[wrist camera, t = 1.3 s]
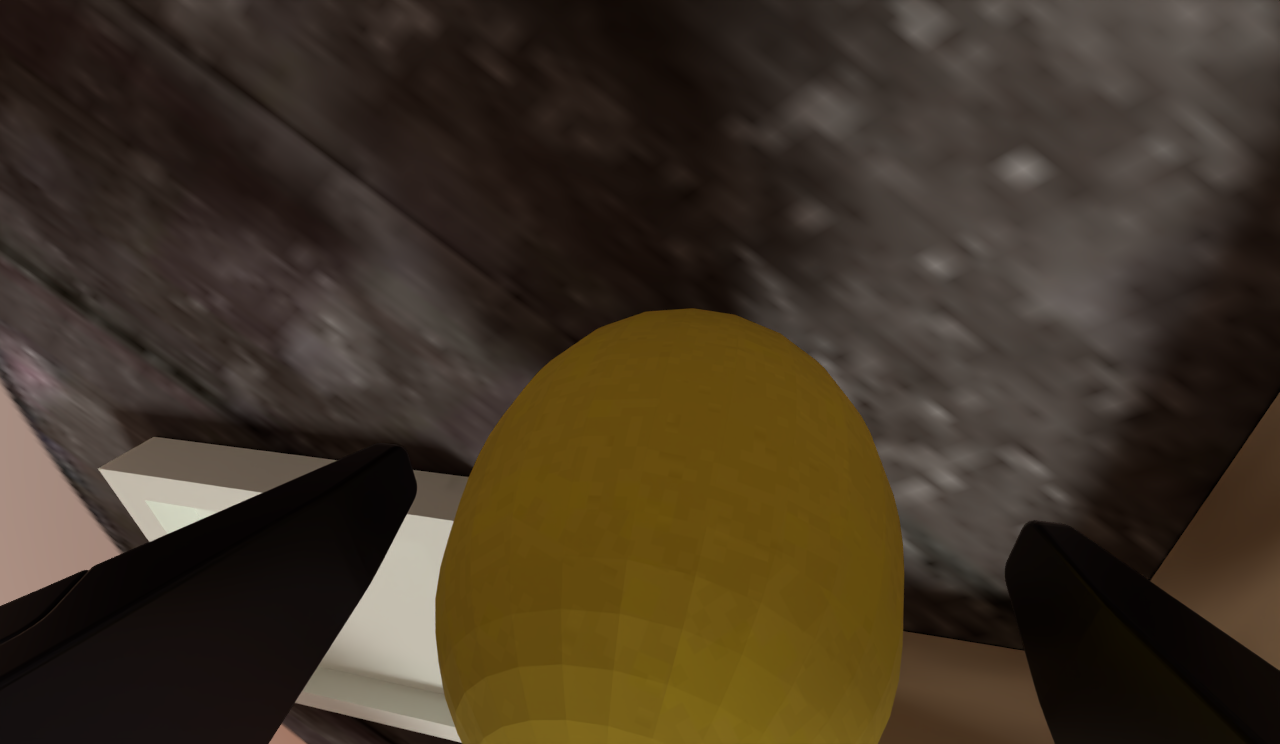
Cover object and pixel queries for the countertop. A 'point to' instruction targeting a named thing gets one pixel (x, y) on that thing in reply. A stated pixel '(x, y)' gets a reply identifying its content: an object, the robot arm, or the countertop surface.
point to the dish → (390, 608)
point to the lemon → (674, 550)
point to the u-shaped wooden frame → (1191, 573)
